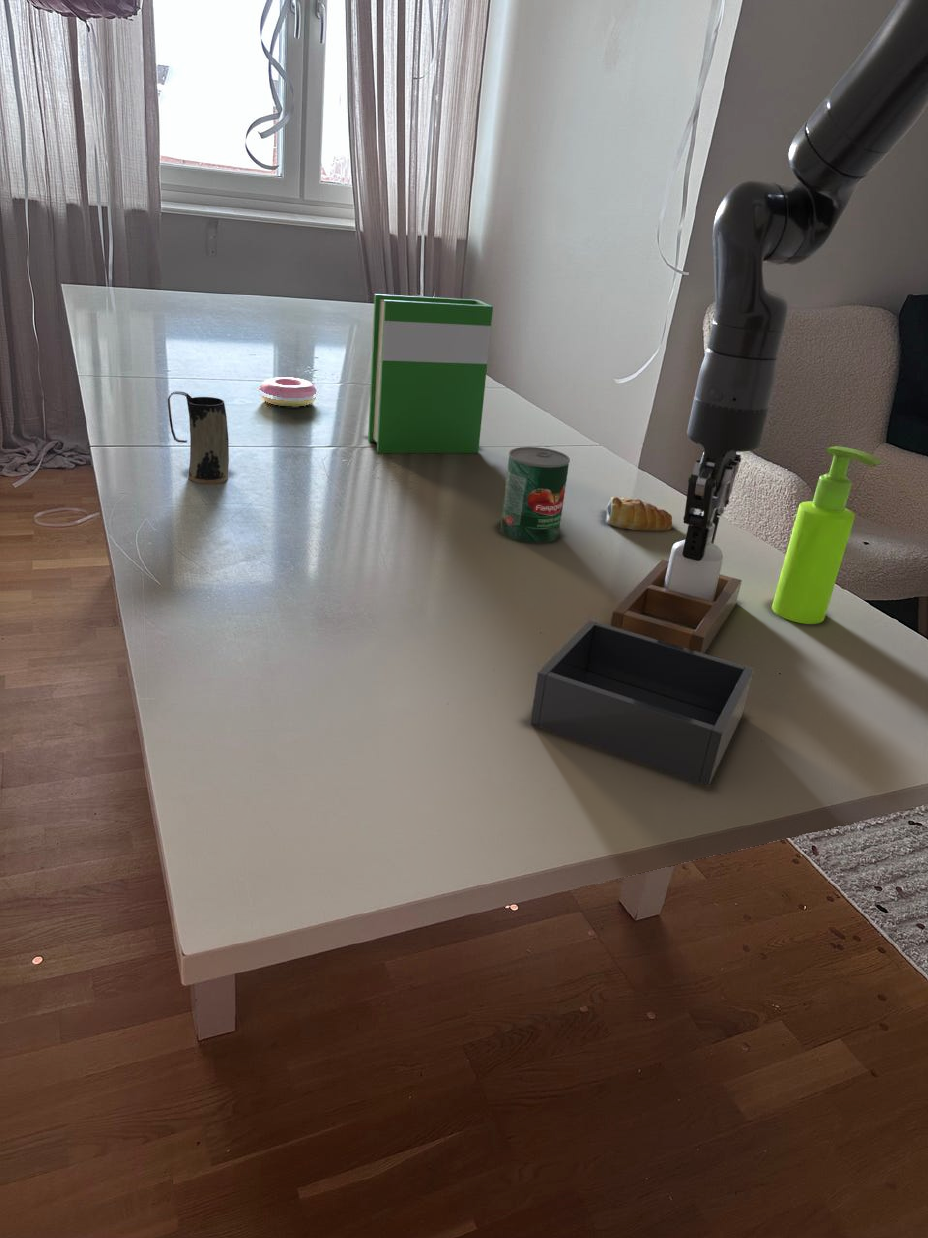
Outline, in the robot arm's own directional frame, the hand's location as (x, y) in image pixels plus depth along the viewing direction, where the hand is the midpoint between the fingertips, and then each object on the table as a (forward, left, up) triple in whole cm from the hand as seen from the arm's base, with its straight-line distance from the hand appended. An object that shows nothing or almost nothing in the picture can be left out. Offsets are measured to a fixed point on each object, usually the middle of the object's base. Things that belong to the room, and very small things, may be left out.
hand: (697, 551), depth 100 cm
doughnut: (+90, -44, -7) cm, 101 cm away
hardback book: (+56, -37, -7) cm, 67 cm away
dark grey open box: (-3, +27, -7) cm, 28 cm away
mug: (+71, +1, -7) cm, 71 cm away
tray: (0, +4, -7) cm, 8 cm away
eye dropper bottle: (0, 0, -7) cm, 7 cm away
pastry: (+14, -24, -7) cm, 29 cm away
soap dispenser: (-12, -7, -7) cm, 16 cm away
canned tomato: (+24, -10, -7) cm, 27 cm away
